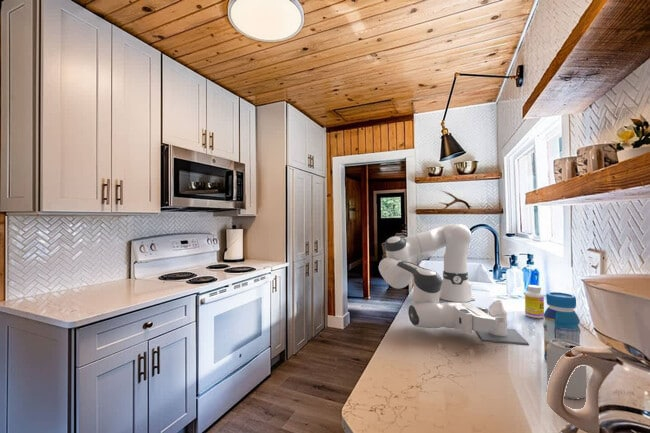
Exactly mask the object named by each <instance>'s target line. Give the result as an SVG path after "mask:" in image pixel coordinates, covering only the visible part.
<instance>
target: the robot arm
mask: <svg viewBox="0 0 650 433" xmlns="http://www.w3.org/2000/svg"><path fill="white" fill-rule="evenodd" d="M471 240H472V232H471V230H470V228H468V227H467V226H466V225H464V224H456V223H449V224H445V225H441V226H439V227H435V228H432V229H430V230H426V231H422V232H419V233H414V234H411V235H408V236H405V237H402V236H398V235H394V236H390V237H389V238H387V239H386V240H385V241H384V249H385V255H386V257H384V258H382V259H381V260H380V262H379V265H378V271H379V273H380V276H382V279H384V281H385V282H386V283H387V284H388V285H389V286H390V287H391V288H394V289H403V288H406V287H407V286H408V285H409V284H410V283H411V281H412V278H413V287H412V288H413V289H412V300H411V301H412V303H411V304H410V305H409V306H408V309H407V311H408V312H407V314H408V317H409V321H410V322H411V324H412V325H413V326H414V327H418V328H422V329H423V328H424V329H440V328H447V329H455V330H460V331H462V332H464V333H472V332H473V331H474V332H476V331H493V330H495V329H496V327H497V323H503V322H504V318H503V317H501V316H496V317H492V316H490V315H489V308H486V307H478V306H474V305H473V304H471V303H469V302H470V301H476V297H475V296H473V294H472V293H473V291H472V283H471V282H470V281H469V272H468V260H467V259H468V253H469V248H470V242H471ZM444 248H445V251H444V253H443V254H444V255H443V271H442V277H441V275H440V274H438V272H436V270H432V269H428V268H424V267H422V266H420V265H418V264H416V263H413V262H412V261H411V257H414V256H415V257H416V256H419V255H424V254H427V253H428V254H429V253H433V252H435V251H438V250H440V249H444ZM442 278H443V279H442ZM440 299H441V300H444V301H448V302H441V303H440Z"/></svg>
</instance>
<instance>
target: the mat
mask: <svg viewBox="0 0 650 433" xmlns="http://www.w3.org/2000/svg"><path fill="white" fill-rule="evenodd" d="M475 332H476V334H478V337H479V338H480V339H481V341H482V342H492V343H500V344H501V343H502V344H503V343H504V344H514V345H525V346H526V345H527V346H529V345H530V344H529V342H528V341H527V340H526V339H525V338H524V337H523V336H522V335H521V334H520V333H519V332H518V331H517V330H516V329H515V328H507V335H506V336H497V335H493V334H491V333H489V331H475Z"/></svg>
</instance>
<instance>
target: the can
mask: <svg viewBox="0 0 650 433" xmlns="http://www.w3.org/2000/svg"><path fill="white" fill-rule="evenodd" d="M576 346H582V344H578V343H576V342H573V341H570V340H566V339H551V340H550V343H549V344H548V345H547V362H546V385H547V384H548V381H549V378H550V375H551V373H552V371H553V369H554V367H555V365H556V363H557V361H558V360H559V359H560V357H561V356H562V355H563V354H565V353H566V352H567V351H569V350H571V349H572V348H573V347H576ZM586 389H587V365H586V366H580V367H578V368H576V369H575V371H574V372H573V374H572V375H571V377H570V379H569V382H568V384H567V388H566V392H565V397H564V399H565V398H566V399H568V398H572V399H571V400H575V399H577V398H581V399H583V398H586V396H587V395H586ZM585 395H586V396H585Z"/></svg>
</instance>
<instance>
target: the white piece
mask: <svg viewBox="0 0 650 433" xmlns="http://www.w3.org/2000/svg"><path fill="white" fill-rule="evenodd" d="M502 302H503V301H501V300H500V299H498V300H495V301H494V302H492V303H491V304H490V305H489V306H488V315H490V316H492V317H496V316H501V317H503V318H504V322H503V323H497V327H496V329H495V330H493V331H489V333H491V334H493V335H497V336H506V335H507V329H508V322H507V321H508V320H507V317H508V316H507V311H506V310H505V309H504V306H503V303H502Z"/></svg>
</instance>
